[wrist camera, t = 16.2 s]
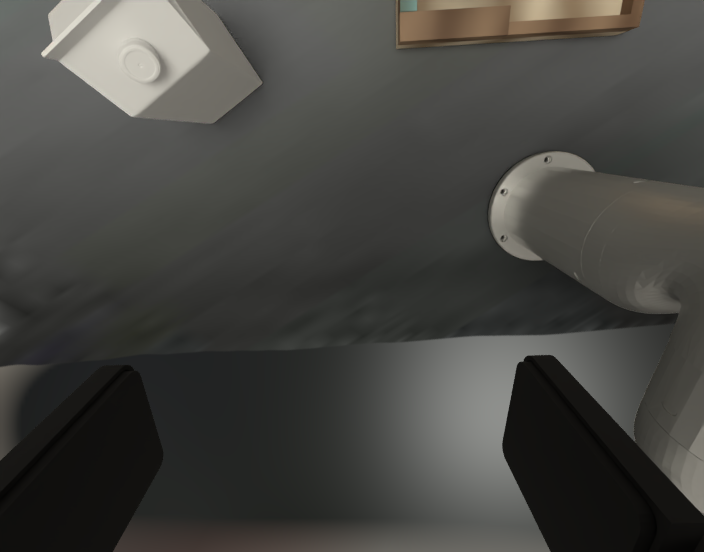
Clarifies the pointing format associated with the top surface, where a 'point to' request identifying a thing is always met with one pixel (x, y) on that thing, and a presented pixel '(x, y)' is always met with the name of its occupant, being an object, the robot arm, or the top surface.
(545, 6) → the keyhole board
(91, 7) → the milk carton
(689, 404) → the robot arm
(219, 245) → the top surface
